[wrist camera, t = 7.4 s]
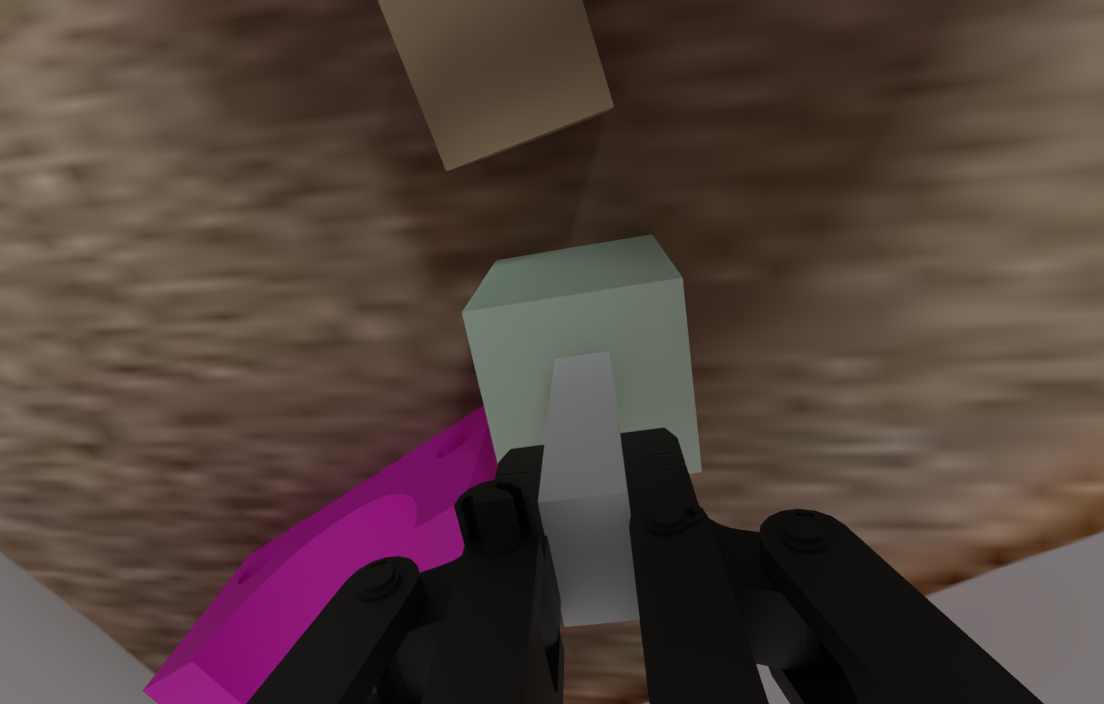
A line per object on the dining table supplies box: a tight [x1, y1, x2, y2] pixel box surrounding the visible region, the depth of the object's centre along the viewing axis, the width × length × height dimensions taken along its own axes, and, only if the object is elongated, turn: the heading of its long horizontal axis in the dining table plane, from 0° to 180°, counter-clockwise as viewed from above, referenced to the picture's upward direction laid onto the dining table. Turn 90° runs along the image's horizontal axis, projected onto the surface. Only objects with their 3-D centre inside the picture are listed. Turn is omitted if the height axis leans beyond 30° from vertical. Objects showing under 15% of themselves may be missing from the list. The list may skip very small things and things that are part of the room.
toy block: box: [143, 406, 498, 704], centre depth 24 cm, size 15×6×8 cm, turn 125°
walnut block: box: [378, 0, 614, 171], centre depth 18 cm, size 5×5×5 cm
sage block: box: [462, 234, 702, 474], centre depth 20 cm, size 6×6×7 cm
